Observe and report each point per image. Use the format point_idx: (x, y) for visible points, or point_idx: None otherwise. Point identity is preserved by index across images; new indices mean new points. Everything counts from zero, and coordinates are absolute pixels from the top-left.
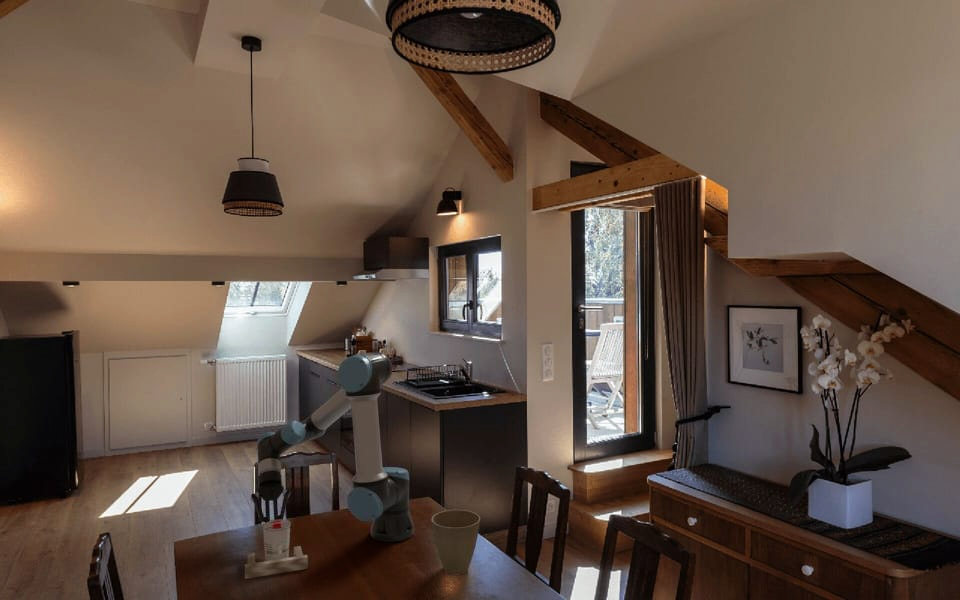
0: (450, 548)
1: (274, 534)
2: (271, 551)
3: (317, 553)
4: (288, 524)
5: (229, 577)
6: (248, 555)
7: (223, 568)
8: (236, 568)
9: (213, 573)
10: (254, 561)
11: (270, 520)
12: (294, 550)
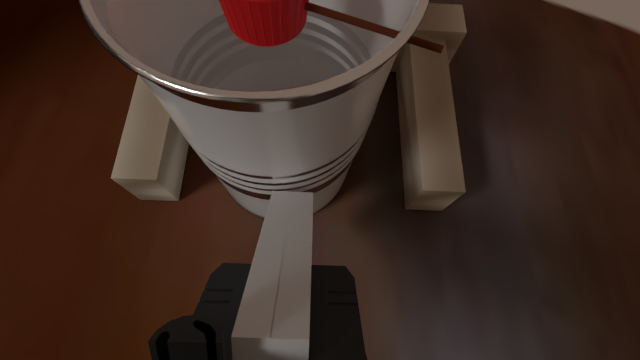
0: None
1: None
2: (323, 53)
3: (41, 183)
4: (113, 22)
5: (511, 88)
6: (457, 163)
7: (564, 198)
8: (494, 170)
9: (601, 158)
10: (416, 70)
11: (301, 331)
12: (167, 148)
